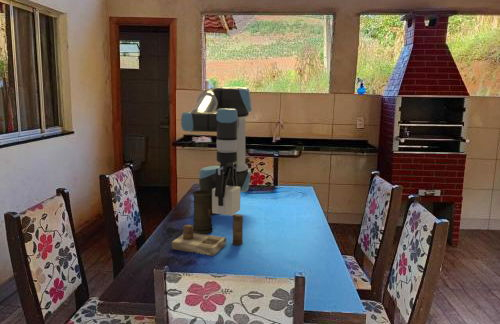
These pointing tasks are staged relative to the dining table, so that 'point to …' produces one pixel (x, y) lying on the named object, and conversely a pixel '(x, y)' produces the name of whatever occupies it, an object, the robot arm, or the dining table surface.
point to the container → (202, 212)
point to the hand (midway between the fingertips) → (226, 210)
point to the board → (198, 242)
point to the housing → (228, 200)
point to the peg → (237, 229)
